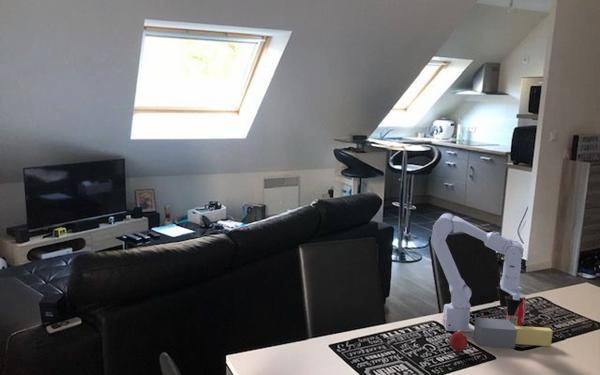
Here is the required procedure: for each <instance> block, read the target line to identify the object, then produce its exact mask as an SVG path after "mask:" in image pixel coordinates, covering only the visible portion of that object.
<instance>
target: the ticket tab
mask: <svg viewBox="0 0 600 375" xmlns="http://www.w3.org/2000/svg"><path fill="white" fill-rule="evenodd" d="M515 328H516V329H517V334H516V342H515V345H523V346H524V345H525V346H540V347H542V346H543V347H552V346H551V345H552V340H553V333H554V332H553V331H554V330H553V329H551V327H541V326H539V327H538V326H527V325H526V326H523V325H521V326H515Z"/></svg>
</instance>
